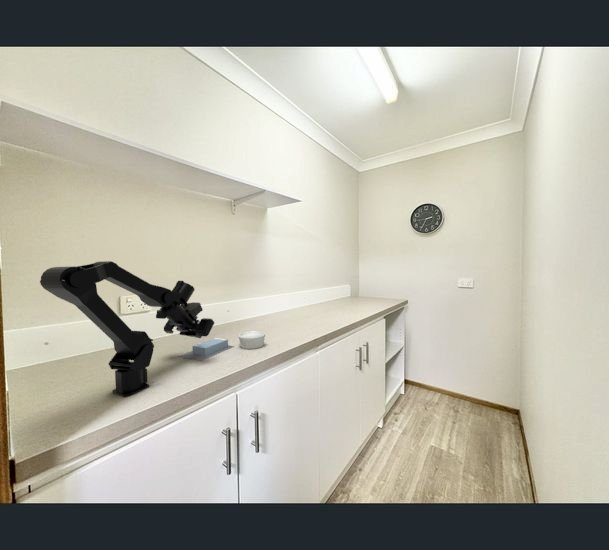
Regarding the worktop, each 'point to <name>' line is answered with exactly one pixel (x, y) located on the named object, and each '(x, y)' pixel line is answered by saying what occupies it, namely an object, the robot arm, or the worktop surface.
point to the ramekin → (251, 339)
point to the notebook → (210, 346)
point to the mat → (201, 357)
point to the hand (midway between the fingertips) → (200, 337)
